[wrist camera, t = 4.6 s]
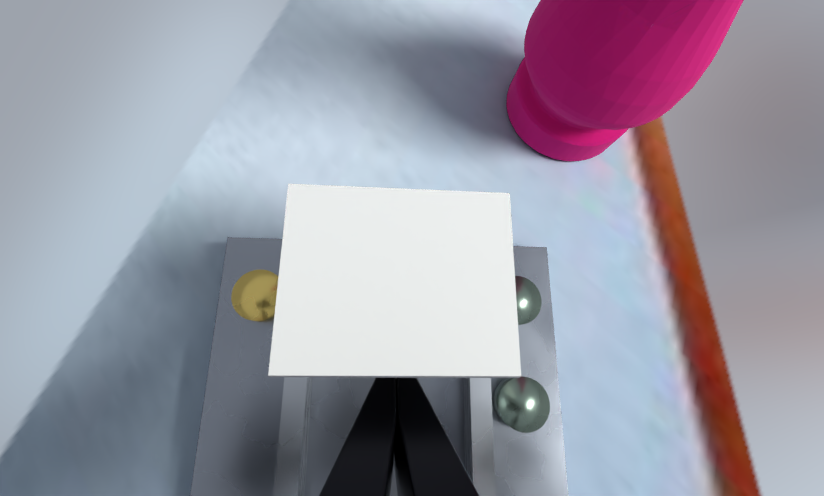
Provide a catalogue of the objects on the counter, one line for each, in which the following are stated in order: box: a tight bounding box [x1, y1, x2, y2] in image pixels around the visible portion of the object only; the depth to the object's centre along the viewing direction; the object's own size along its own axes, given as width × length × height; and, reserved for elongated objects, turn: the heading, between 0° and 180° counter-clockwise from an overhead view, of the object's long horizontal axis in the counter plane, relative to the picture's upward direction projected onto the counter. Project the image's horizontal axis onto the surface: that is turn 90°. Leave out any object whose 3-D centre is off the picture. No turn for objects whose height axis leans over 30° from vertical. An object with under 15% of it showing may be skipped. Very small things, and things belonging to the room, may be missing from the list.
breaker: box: [268, 184, 521, 378], centre depth 11 cm, size 4×5×8 cm
